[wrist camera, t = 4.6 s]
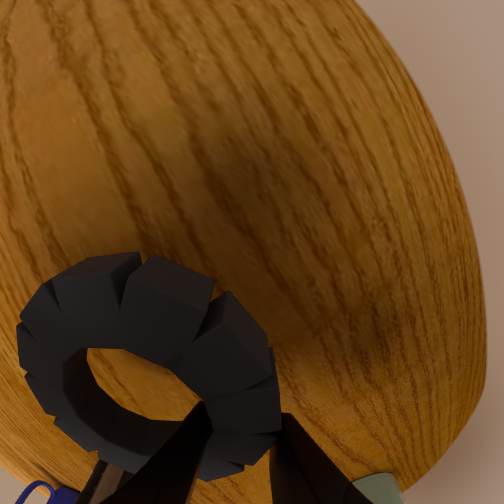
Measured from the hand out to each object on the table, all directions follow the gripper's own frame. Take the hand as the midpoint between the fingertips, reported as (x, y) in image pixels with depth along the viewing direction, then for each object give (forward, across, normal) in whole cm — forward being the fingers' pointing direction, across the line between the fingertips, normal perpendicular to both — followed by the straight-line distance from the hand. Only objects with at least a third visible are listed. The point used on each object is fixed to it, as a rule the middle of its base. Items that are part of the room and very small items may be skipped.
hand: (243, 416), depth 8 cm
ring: (+1, +3, 0) cm, 4 cm away
